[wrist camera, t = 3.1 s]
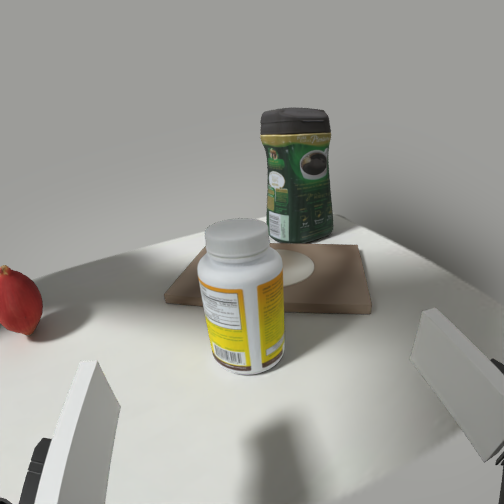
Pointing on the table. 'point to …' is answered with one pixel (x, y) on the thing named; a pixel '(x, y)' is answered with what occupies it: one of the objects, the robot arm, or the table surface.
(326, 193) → the coffee jar
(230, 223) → the supplement bottle
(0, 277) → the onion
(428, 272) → the table surface
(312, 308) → the brown flat board
